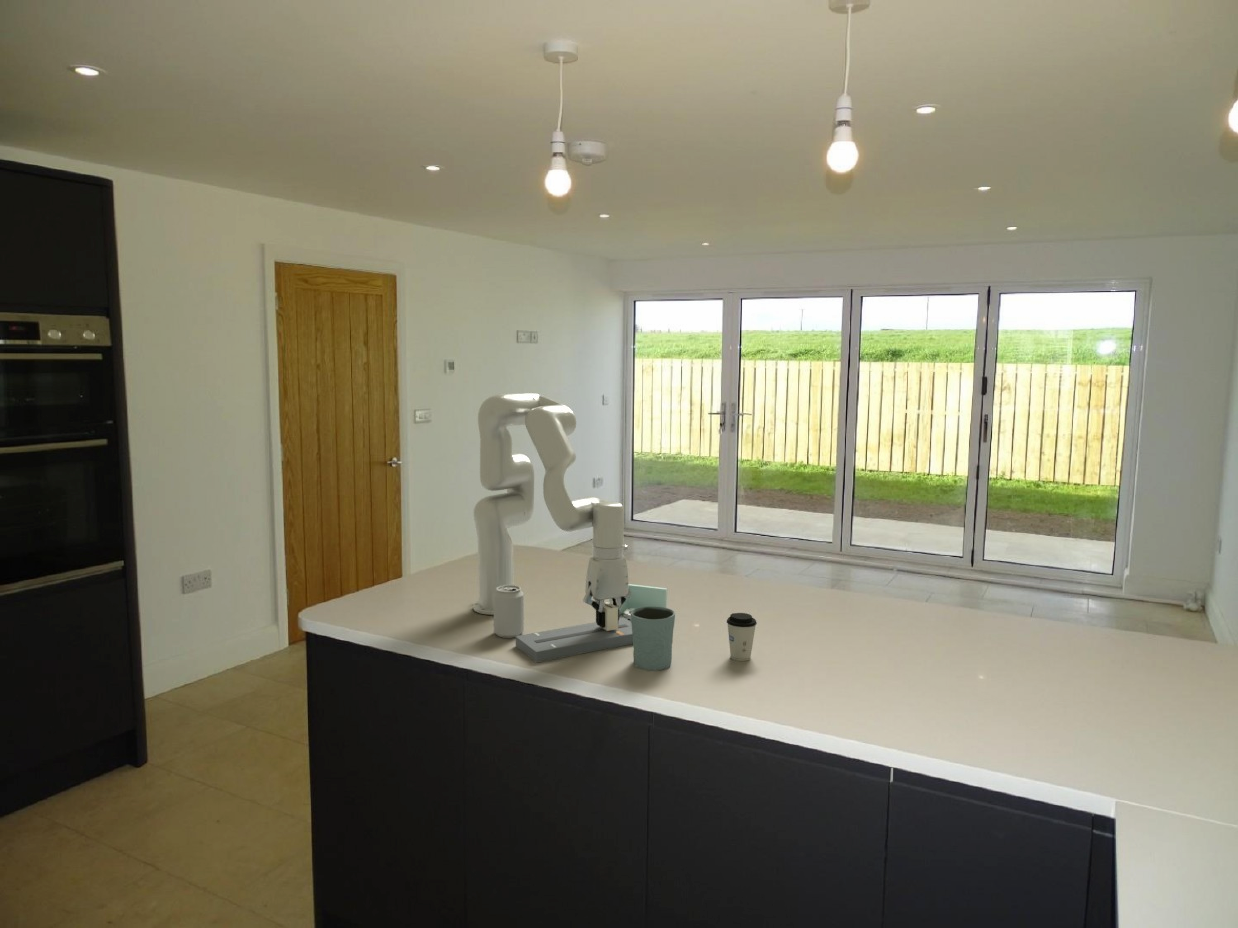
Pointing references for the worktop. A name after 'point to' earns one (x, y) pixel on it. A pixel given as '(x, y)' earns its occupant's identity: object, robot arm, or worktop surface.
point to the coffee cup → (741, 635)
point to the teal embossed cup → (652, 637)
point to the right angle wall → (643, 599)
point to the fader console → (574, 640)
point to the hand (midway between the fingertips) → (607, 624)
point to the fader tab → (610, 616)
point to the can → (508, 611)
